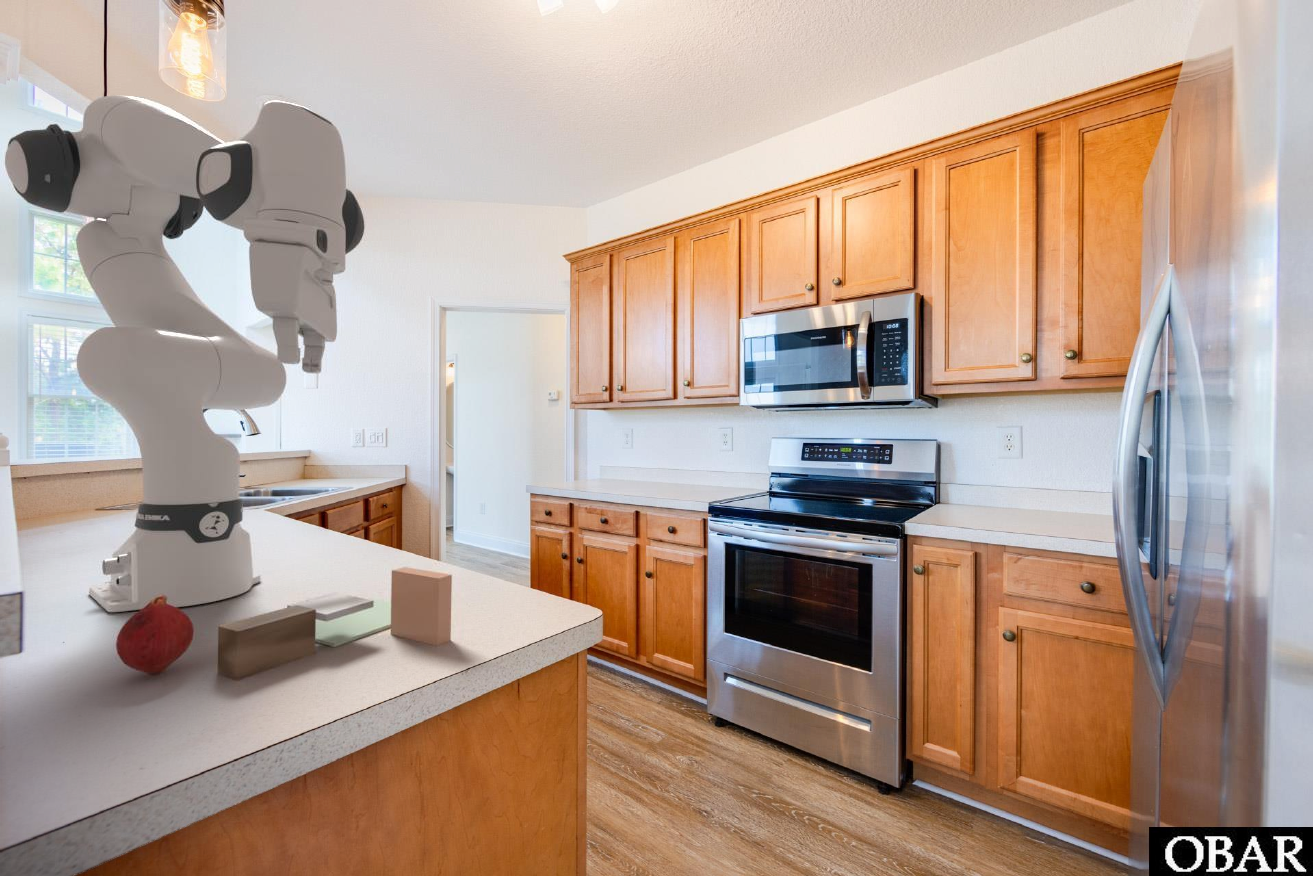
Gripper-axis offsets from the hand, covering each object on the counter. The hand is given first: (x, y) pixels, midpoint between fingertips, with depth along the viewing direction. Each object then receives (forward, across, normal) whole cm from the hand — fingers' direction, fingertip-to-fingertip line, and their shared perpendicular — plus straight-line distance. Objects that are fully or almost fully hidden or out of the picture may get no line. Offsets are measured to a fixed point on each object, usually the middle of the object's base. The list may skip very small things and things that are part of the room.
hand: (301, 368), depth 65 cm
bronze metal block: (+32, +2, 0) cm, 33 cm away
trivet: (+32, -8, +4) cm, 34 cm away
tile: (+33, 0, +13) cm, 35 cm away
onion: (+32, +4, -12) cm, 35 cm away
